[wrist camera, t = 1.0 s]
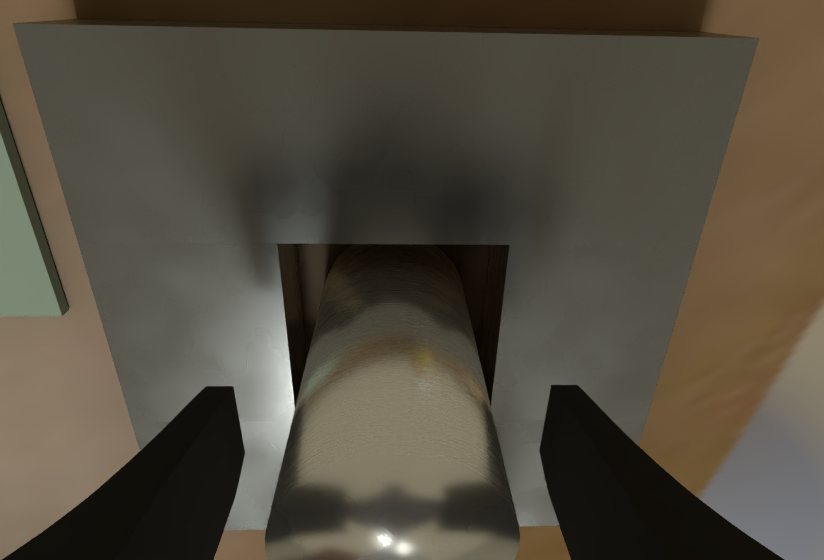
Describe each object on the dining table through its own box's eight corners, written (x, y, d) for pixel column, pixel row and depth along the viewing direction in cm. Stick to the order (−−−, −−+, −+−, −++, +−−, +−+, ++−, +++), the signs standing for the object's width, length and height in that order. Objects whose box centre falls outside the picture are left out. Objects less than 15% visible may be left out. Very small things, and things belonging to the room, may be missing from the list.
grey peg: (458, 353, 19) (506, 619, 11) (328, 353, 18) (278, 623, 10) (467, 233, 16) (534, 453, 9) (320, 232, 16) (250, 456, 8)
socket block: (592, 470, 21) (615, 524, 19) (188, 474, 21) (163, 530, 19) (701, 31, 14) (759, 38, 12) (75, 19, 13) (12, 23, 11)
